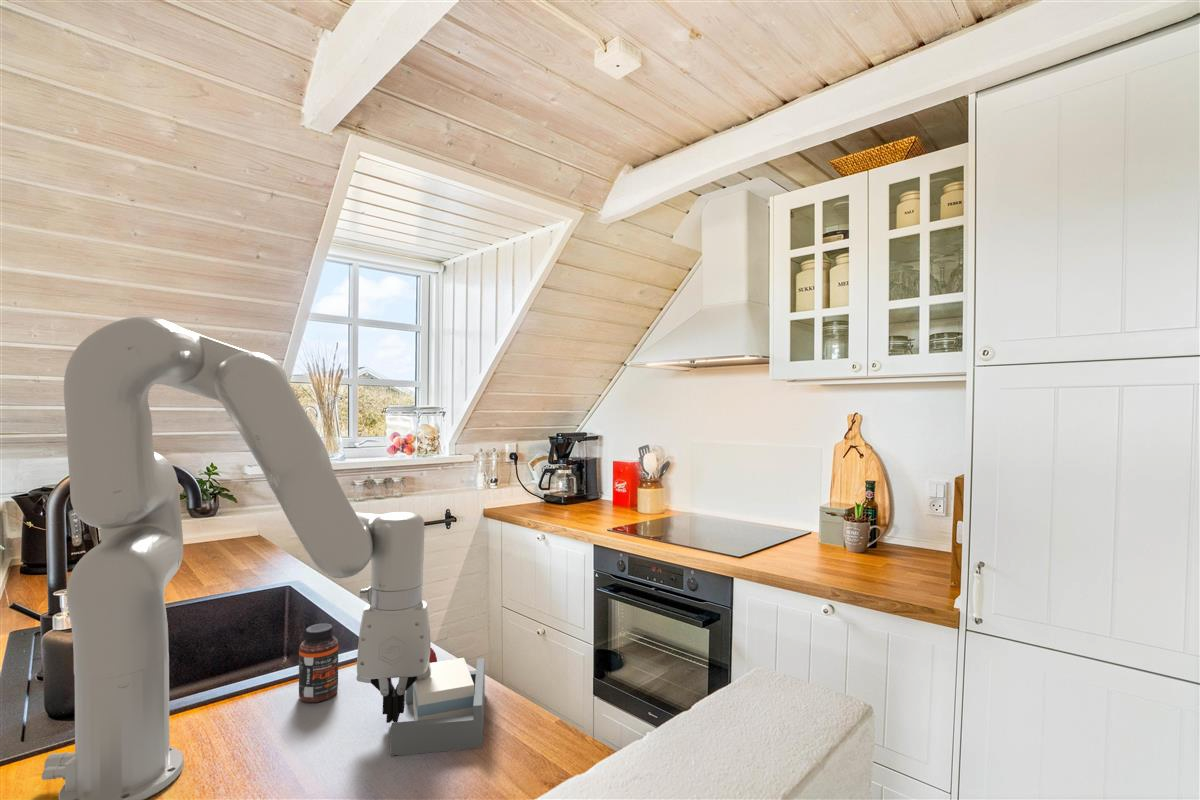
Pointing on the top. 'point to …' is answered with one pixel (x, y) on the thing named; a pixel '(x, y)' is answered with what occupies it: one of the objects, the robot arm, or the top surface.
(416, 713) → the carton
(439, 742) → the bay
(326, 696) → the supplement bottle
